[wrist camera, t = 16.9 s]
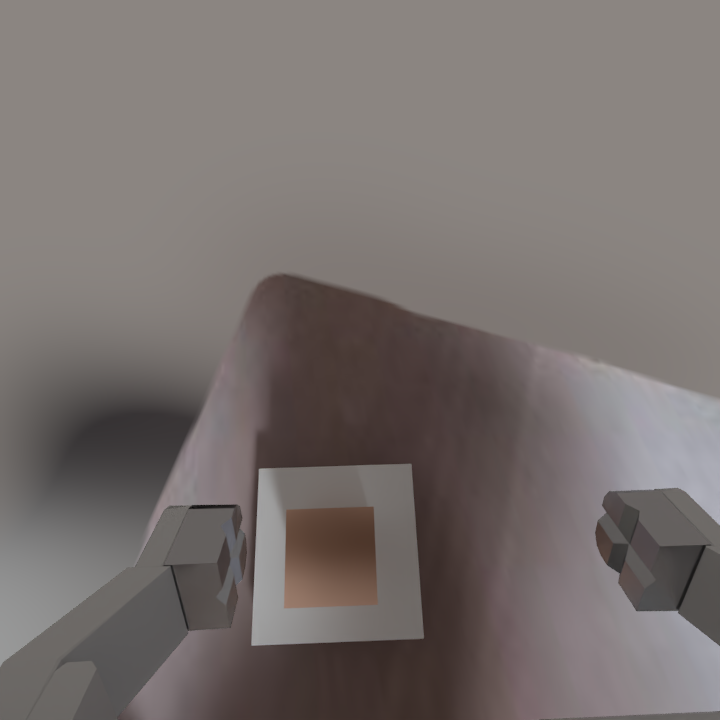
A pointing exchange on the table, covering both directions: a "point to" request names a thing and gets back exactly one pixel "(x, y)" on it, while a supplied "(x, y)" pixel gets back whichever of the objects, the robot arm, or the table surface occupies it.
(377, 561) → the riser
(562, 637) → the table surface
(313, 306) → the table surface
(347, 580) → the terracotta block
